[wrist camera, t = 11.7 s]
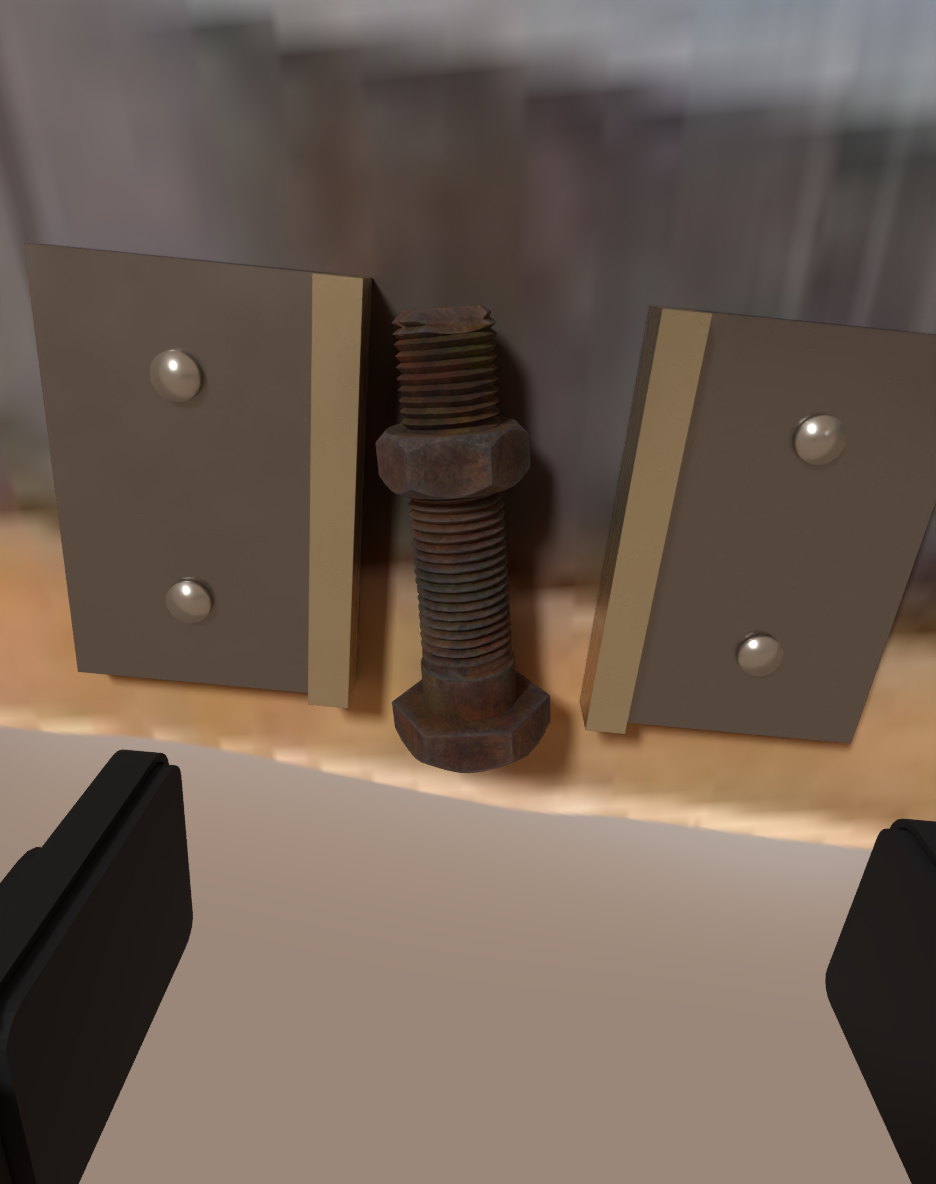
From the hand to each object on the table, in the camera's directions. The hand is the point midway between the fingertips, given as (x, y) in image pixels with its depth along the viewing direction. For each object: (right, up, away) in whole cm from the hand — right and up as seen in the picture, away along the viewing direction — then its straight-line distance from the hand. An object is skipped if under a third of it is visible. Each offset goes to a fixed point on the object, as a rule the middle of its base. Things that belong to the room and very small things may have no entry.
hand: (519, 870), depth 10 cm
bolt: (-1, +6, +18) cm, 19 cm away
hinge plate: (0, +7, +17) cm, 18 cm away
